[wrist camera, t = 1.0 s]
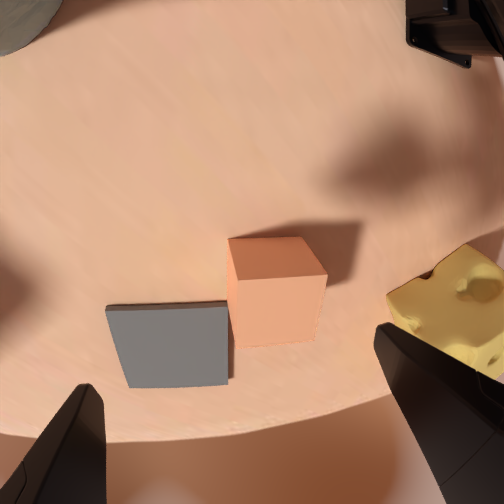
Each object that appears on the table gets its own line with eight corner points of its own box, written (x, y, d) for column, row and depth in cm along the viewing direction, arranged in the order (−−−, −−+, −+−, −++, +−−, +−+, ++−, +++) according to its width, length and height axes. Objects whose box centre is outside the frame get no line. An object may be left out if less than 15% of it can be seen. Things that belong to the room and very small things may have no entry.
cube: (300, 235, 22) (327, 274, 17) (292, 296, 24) (314, 340, 20) (227, 238, 21) (237, 280, 16) (226, 300, 23) (236, 349, 19)
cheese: (381, 294, 26) (444, 377, 17) (469, 235, 25) (542, 292, 16) (397, 356, 31) (441, 424, 22) (470, 305, 30) (522, 360, 21)
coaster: (227, 301, 23) (227, 306, 22) (227, 379, 27) (228, 384, 27) (106, 305, 21) (104, 311, 21) (129, 383, 26) (129, 387, 25)
